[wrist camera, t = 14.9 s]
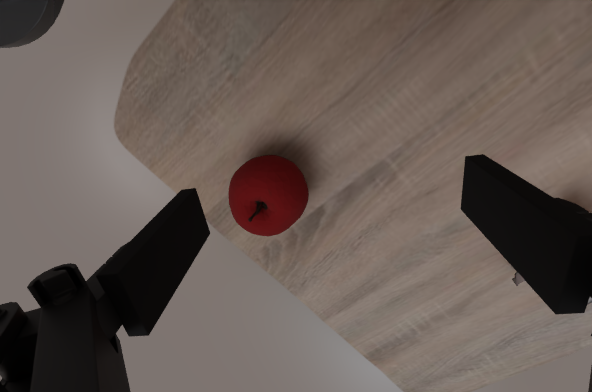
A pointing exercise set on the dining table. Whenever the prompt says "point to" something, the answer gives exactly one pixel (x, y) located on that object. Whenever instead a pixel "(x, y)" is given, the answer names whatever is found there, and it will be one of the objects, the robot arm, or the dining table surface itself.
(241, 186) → the apple
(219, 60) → the dining table surface
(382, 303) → the dining table surface
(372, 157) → the dining table surface
